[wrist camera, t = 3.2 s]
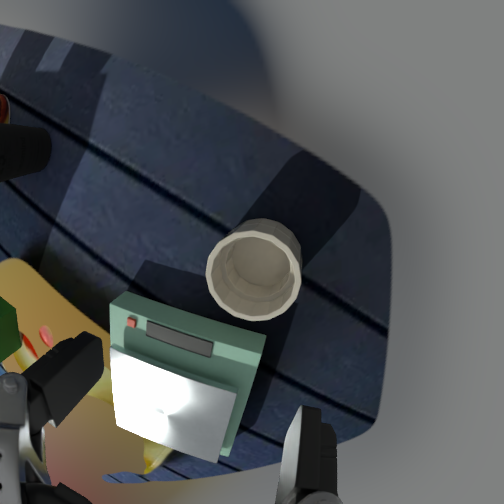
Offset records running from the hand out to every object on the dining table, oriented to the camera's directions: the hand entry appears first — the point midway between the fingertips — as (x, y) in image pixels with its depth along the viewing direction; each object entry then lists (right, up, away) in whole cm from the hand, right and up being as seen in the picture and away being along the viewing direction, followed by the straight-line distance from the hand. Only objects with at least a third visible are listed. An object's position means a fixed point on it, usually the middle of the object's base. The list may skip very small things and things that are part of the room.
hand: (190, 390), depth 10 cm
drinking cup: (-21, +16, +15) cm, 30 cm away
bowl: (+3, +5, +14) cm, 15 cm away
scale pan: (-6, -10, +16) cm, 20 cm away
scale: (-5, -8, +19) cm, 21 cm away
